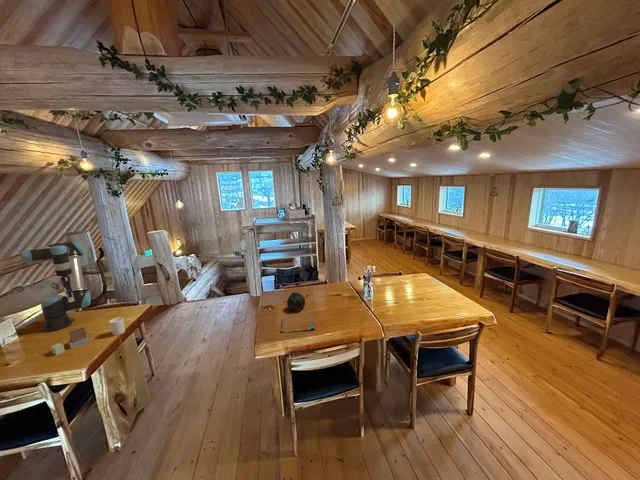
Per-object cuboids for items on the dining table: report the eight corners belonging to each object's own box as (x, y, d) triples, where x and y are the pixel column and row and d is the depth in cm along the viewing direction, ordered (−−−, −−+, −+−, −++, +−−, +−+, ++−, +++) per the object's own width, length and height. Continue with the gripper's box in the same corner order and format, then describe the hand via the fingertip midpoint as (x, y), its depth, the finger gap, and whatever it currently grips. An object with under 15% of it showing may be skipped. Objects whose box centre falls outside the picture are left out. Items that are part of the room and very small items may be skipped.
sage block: (52, 352, 159) (50, 346, 158) (60, 349, 162) (59, 342, 162) (56, 355, 156) (54, 348, 155) (65, 351, 160) (63, 345, 159)
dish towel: (315, 331, 173) (315, 327, 173) (280, 334, 171) (280, 330, 171) (313, 318, 190) (313, 315, 190) (281, 321, 188) (281, 318, 188)
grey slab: (70, 345, 167) (68, 340, 167) (88, 339, 174) (87, 334, 173) (70, 349, 162) (69, 344, 162) (89, 342, 169) (88, 338, 168)
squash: (310, 299, 211) (298, 286, 211) (305, 307, 197) (292, 293, 196) (299, 308, 215) (286, 295, 215) (293, 317, 201) (280, 304, 201)
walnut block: (70, 340, 167) (69, 331, 166) (85, 335, 172) (83, 327, 171) (72, 342, 163) (70, 334, 162) (87, 337, 169) (85, 329, 168)
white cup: (124, 328, 185) (121, 316, 183) (127, 332, 180) (124, 319, 178) (110, 333, 179) (107, 320, 177) (113, 337, 174) (110, 323, 172)
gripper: (53, 266, 174) (60, 295, 178) (56, 274, 158) (64, 306, 162) (68, 264, 179) (75, 292, 184) (73, 271, 163) (80, 301, 168)
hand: (70, 298), depth 173 cm, fingers open, 13 cm apart
